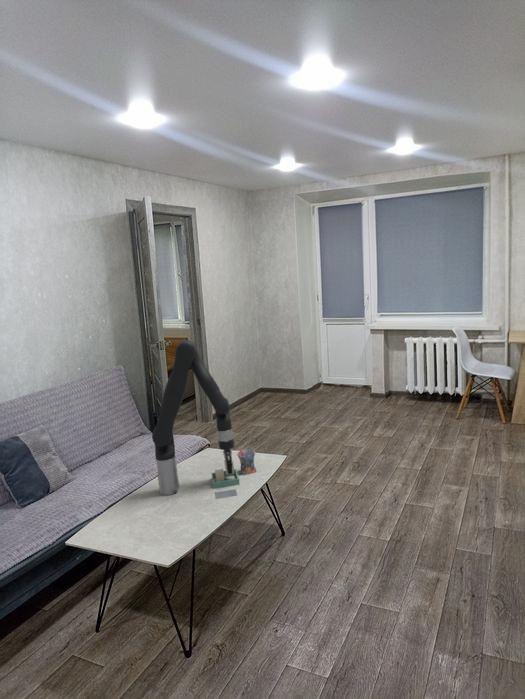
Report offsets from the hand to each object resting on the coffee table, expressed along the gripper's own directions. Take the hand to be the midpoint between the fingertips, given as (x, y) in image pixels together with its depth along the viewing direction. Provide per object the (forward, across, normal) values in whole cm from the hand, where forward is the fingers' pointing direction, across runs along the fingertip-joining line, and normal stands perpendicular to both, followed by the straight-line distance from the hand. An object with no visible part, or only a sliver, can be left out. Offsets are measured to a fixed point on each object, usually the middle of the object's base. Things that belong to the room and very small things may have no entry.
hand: (229, 471), depth 247 cm
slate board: (+6, +14, -4) cm, 16 cm away
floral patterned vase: (+6, -10, +10) cm, 16 cm away
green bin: (+6, 0, -3) cm, 6 cm away
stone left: (+5, 0, -5) cm, 7 cm away
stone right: (+1, 0, 0) cm, 1 cm away
